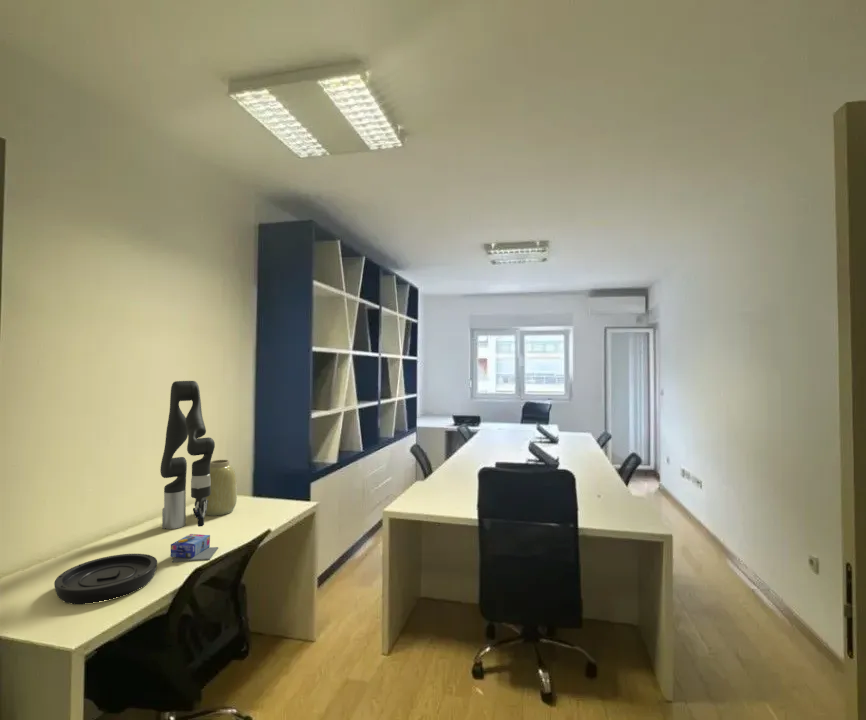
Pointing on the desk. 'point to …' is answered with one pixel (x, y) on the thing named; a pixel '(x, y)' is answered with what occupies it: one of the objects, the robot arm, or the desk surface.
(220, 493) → the vase
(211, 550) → the mat
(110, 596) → the round tray
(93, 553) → the desk surface
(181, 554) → the ink cartridge box
